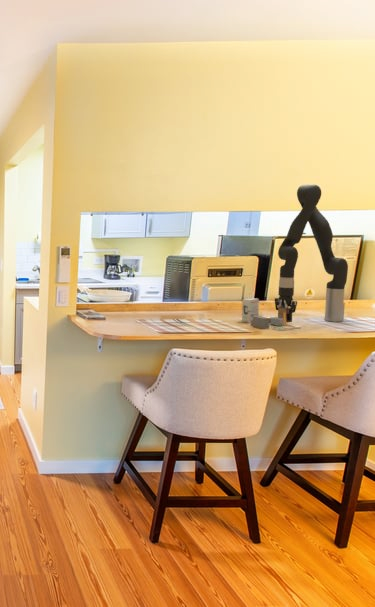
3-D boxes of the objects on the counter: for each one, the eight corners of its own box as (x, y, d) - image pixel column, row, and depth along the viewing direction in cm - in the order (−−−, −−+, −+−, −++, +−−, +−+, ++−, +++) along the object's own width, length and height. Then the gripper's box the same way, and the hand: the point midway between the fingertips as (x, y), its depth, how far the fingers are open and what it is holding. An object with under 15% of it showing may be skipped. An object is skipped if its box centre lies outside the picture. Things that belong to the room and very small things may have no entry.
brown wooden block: (284, 320, 295) (285, 306, 294) (291, 321, 291) (292, 308, 290) (277, 321, 293) (278, 307, 292) (284, 322, 289) (285, 308, 288)
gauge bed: (275, 322, 298) (276, 312, 298) (301, 327, 284) (302, 317, 283) (248, 325, 288) (249, 315, 287) (274, 331, 273) (274, 320, 272)
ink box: (249, 323, 294) (250, 300, 292) (241, 321, 297) (242, 299, 295) (258, 321, 300) (259, 298, 299) (250, 320, 303) (251, 297, 302)
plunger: (276, 323, 293) (276, 309, 292) (295, 327, 283) (296, 313, 282) (270, 323, 291) (270, 310, 290) (289, 328, 280) (290, 314, 279)
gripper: (302, 287, 286) (300, 321, 288) (281, 284, 297) (280, 317, 300) (291, 288, 282) (289, 322, 284) (270, 285, 293) (269, 318, 296)
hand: (284, 319), depth 292 cm, fingers closed on brown wooden block, 5 cm apart
